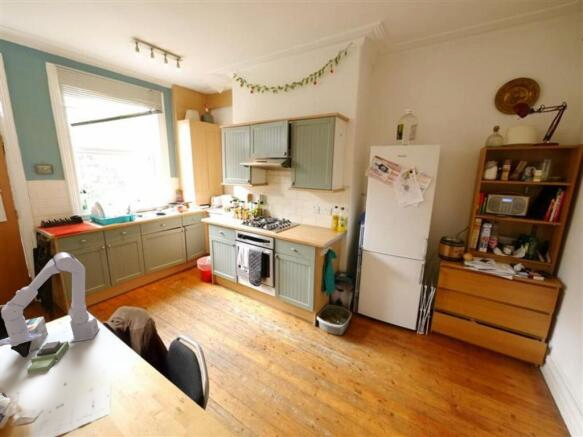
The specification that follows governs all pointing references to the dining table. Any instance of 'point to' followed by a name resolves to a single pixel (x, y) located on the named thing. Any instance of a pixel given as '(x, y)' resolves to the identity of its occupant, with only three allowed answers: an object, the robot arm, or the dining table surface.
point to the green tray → (46, 360)
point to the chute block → (50, 348)
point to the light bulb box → (37, 331)
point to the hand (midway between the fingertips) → (26, 355)
